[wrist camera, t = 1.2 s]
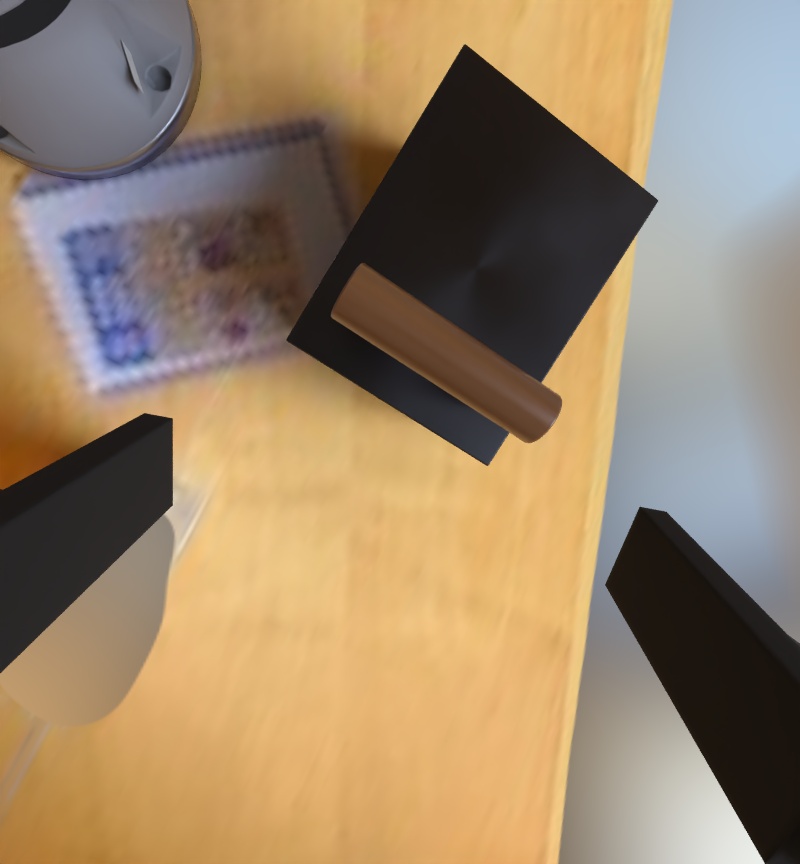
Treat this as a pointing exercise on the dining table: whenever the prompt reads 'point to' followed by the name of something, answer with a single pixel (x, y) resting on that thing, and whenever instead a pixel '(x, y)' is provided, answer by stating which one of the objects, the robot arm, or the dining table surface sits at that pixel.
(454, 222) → the bacon press
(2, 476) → the dining table surface
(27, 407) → the dining table surface
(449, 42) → the dining table surface
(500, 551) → the dining table surface
